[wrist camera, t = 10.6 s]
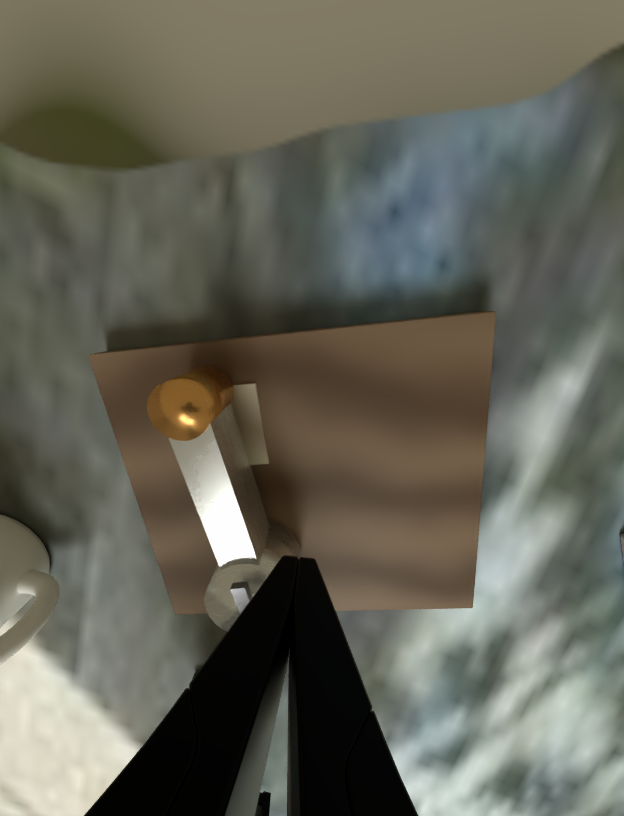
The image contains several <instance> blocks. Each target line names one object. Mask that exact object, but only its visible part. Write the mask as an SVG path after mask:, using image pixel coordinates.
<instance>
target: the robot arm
mask: <svg viewBox="0 0 624 816" xmlns="http://www.w3.org/2000/svg"><path fill="white" fill-rule="evenodd" d="M289 650H290V654H289ZM288 658H289V685H288V773H287V816H418V814H417V812H416V810H415V807H414V805H413V803H412V801H411V799H410V797H409V794H408V792H407V790H406V788H405V786H404V783H403V781H402V779H401V777H400V774H399V772H398V770H397V767H396V765H395V762H394V760H393V757H392V755H391V753H390V750H389V748H388V745H387V743H386V740H385V738H384V735H383V733H382V730H381V728H380V725H379V722H378V720H377V717H376V715H375V712H374V711H372V705H371V702H370V699H369V697H368V694H367V692H366V689H365V686H364V684H363V681H362V679H361V676H360V673H359V671H358V668H357V666H356V663H355V660H354V658H353V655H352V653H351V650H350V647H349V645H348V642H347V639H346V637H345V634H344V632H343V629H342V626H341V624H340V621H339V619H338V616H337V613H336V611H335V608H334V606H333V603H332V600H331V598H330V595H329V593H328V590H327V587H326V585H325V582H324V580H323V577H322V574H321V572H320V569H319V566H318V564H317V561H316V560H315V559H314V558H307V557H300V559H299V558H298V557H297V556H289V555H284V556H282V557H281V559H280V560H279V561H278V563H277V564H276V565H275V567H274V568H273V570H272V571H271V572H270V574H269V575H268V576H267V578H266V579H265V581H264V582H263V583H262V585H261V586H260V587H259V589H258V590H257V592H256V593H255V594H254V596H253V597H252V598H251V600H250V601H249V603H248V604H247V605H246V607H245V608H244V609H243V611H242V612H241V614H240V615H239V616H238V618H237V619H236V620H235V622H234V623H233V625H232V626H231V627H230V629H229V630H228V632H227V633H226V634H225V636H224V637H223V638H222V640H221V641H220V643H219V644H218V645H217V647H216V648H215V649H214V651H213V652H212V654H211V655H210V656H209V658H208V659H207V660H206V662H205V663H204V665H203V666H202V667H201V669H200V670H199V671H198V672H196V673H195V674H194V676H193V679H192V681H191V682H190V684H189V688H186V689H185V690H184V692H183V693H182V695H181V696H180V697H179V699H178V700H177V701H176V703H175V704H174V706H173V707H172V708H171V710H170V711H169V712H168V714H167V715H166V716H165V718H164V719H163V720H162V722H161V723H160V724H159V725H158V727H157V728H156V729H155V731H154V732H153V733H152V735H151V736H150V737H149V739H148V740H147V741H146V743H145V744H144V745H143V746H142V747H141V749H140V750H139V751H138V752H137V753H136V755H135V756H134V757H133V758H132V760H131V761H130V762H129V763H128V764H127V766H126V767H125V768H124V769H123V770H122V772H121V773H120V774H119V775H118V776H117V778H116V779H115V780H114V781H113V782H112V784H111V785H110V786H109V787H108V788H107V789H106V791H105V792H104V793H103V794H102V795H101V796H100V798H99V799H98V800H97V801H96V802H95V803H94V805H93V806H92V807H91V808H90V809H89V810H88V812H87V813H86V814H85V815H84V816H269V808H270V796H271V793H269V792H265V791H264V792H263V793H261V792H260V789H261V785H262V780H263V775H264V771H265V766H266V761H267V757H268V752H269V748H270V743H271V738H272V734H273V729H274V724H275V720H276V715H277V711H278V706H279V701H280V697H281V692H282V687H283V683H284V678H285V674H286V669H287V663H288Z"/></svg>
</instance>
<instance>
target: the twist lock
mask: <svg viewBox="0 0 624 816" xmlns="http://www.w3.org/2000/svg"><path fill="white" fill-rule="evenodd" d="M233 398H234V388H233V385H232V382H231V380H230V379H229V377H228V376H227V375H226V374H225V373H224V372H223V371H221V370H220V369H218V368H216V367H213V366H200V367H197V368H195V369H192V370H190V371H188V372H186V373H184V374H182V375H179V376H177V377H175V378H173V379H171V380H168V381H166V382H164V383H162V384H160V385H158V386H157V387H155V388H154V389H153V391H152V392H151V393H150V395H149V398H148V402H147V411H148V415H149V418H150V420H151V422H152V424H153V425H154V426H155V428H156V429H157V430H158V431H159V432H161V433H162V434H163V435H165V436H166V437H168V438H169V440H170V443H171V446H172V448H173V451H174V453H175V456H176V458H177V461H178V463H179V466H180V468H181V471H182V473H183V476H184V478H185V481H186V483H187V486H188V489H189V491H190V494H191V496H192V499H193V501H194V504H195V506H196V509H197V511H198V514H199V516H200V519H201V521H202V524H203V526H204V529H205V532H206V534H207V537H208V539H209V542H210V544H211V547H212V549H213V552H214V554H215V557H216V559H217V562H218V565H217V567H216V569H215V572H214V574H213V576H212V579H211V581H210V583H209V585H208V588H207V590H206V593H205V597H204V604H205V609H206V611H207V613H208V615H209V617H210V618H211V620H212V621H213V622H214V623H215V624H216V625H217V626H219V627H220V628H221V629H223V630H224V631H226V632H228V630H229V629H230V627H231V626H232V625H233V623H234V622H235V620H236V619H237V618H238V616H239V615H240V614H241V612H242V611H243V609H244V608H245V607H246V605H247V604H248V603H249V601H250V600H251V598H252V597H253V596H254V594H255V593H256V592H257V590H258V589H259V587H260V586H261V585H262V583H263V582H264V581H265V579H266V578H267V576H268V575H269V574H270V572H271V571H272V570H273V568H274V567H275V565H276V564H277V563H278V561H279V560H280V559H281V557H282V556H284V555H289V556H297V557H298V558H299V559H300V557H301V549H300V545H299V542H298V541H297V539H296V537H295V536H294V535H293V534H292V533H291V532H290V531H289V530H288V529H286V528H285V527H283V526H281V525H279V524H277V523H274V522H270V521H268V520H267V517H266V514H265V510H264V507H263V504H262V501H261V498H260V494H259V491H258V488H257V485H256V482H255V479H254V475H253V472H252V469H251V466H250V463H249V460H248V456H247V453H246V450H245V447H244V444H243V441H242V437H241V434H240V431H239V428H238V425H237V421H236V418H235V415H234V412H233V409H232V406H231V403H232V401H233Z"/></svg>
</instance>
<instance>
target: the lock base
mask: <svg viewBox="0 0 624 816" xmlns="http://www.w3.org/2000/svg"><path fill="white" fill-rule="evenodd" d="M495 319H496V312H492V311H479V312H469V313H460V314H451V315H441V316H432V317H422V318H413V319H404V320H394V321H385V322H376V323H366V324H357V325H347V326H338V327H329V328H319V329H310V330H301V331H291V332H282V333H272V334H263V335H254V336H244V337H235V338H226V339H216V340H207V341H198V342H188V343H179V344H169V345H160V346H151V347H141V348H132V349H123V350H113V351H105V352H100V353H95V354H90V355H88V357H89V360H90V363H91V366H92V369H93V372H94V375H95V378H96V381H97V384H98V387H99V390H100V393H101V396H102V399H103V401H104V404H105V407H106V410H107V413H108V416H109V419H110V422H111V425H112V428H113V431H114V434H115V437H116V440H117V443H118V446H119V449H120V452H121V455H122V458H123V461H124V464H125V467H126V470H127V473H128V476H129V479H130V482H131V484H132V487H133V490H134V493H135V496H136V499H137V502H138V505H139V508H140V511H141V514H142V517H143V520H144V523H145V526H146V529H147V532H148V535H149V538H150V541H151V544H152V547H153V550H154V553H155V556H156V559H157V562H158V565H159V567H160V570H161V573H162V576H163V579H164V582H165V585H166V588H167V591H168V594H169V597H170V600H171V603H172V606H173V609H174V612H175V615H176V614H208V613H207V611H206V609H205V604H204V597H205V593H206V590H207V588H208V585H209V583H210V581H211V579H212V576H213V574H214V572H215V569H216V567H217V565H218V562H217V559H216V557H215V554H214V552H213V549H212V547H211V544H210V542H209V539H208V537H207V534H206V532H205V529H204V526H203V524H202V521H201V519H200V516H199V514H198V511H197V509H196V506H195V504H194V501H193V499H192V496H191V494H190V491H189V489H188V486H187V483H186V481H185V478H184V476H183V473H182V471H181V468H180V466H179V463H178V461H177V458H176V456H175V453H174V451H173V448H172V446H171V443H170V440H169V438H168V437H166V436H165V435H163V434H162V433H161V432H159V431H158V430H157V429H156V428H155V426H154V425H153V424H152V422H151V420H150V418H149V415H148V411H147V402H148V398H149V395H150V393H151V392H152V391H153V389H154V388H155V387H157V386H158V385H160V384H162V383H164V382H166V381H168V380H171V379H173V378H175V377H177V376H179V375H182V374H184V373H186V372H188V371H190V370H192V369H195V368H197V367H200V366H213V367H216V368H218V369H220V370H221V371H223V372H224V373H225V374H226V375H227V376H228V377H229V379H230V380H231V382H232V385H233V388H234V398H233V401H232V403H231V406H232V409H233V412H234V415H235V418H236V421H237V425H238V428H239V431H240V434H241V437H242V441H243V444H244V447H245V450H246V453H247V456H248V460H249V463H250V466H251V469H252V472H253V475H254V479H255V482H256V485H257V488H258V491H259V494H260V498H261V501H262V504H263V507H264V510H265V514H266V517H267V520H268V521H270V522H274V523H277V524H279V525H281V526H283V527H285V528H286V529H288V530H289V531H290V532H291V533H292V534H293V535H294V536H295V537H296V539H297V541H298V542H299V545H300V549H301V557H307V558H314V559H315V560H316V561H317V564H318V566H319V569H320V572H321V574H322V577H323V580H324V582H325V585H326V587H327V590H328V593H329V595H330V598H331V600H332V603H333V606H334V608H335V611H356V610H401V609H446V608H473V598H474V585H475V573H476V560H477V547H478V535H479V522H480V509H481V497H482V484H483V471H484V459H485V446H486V433H487V421H488V408H489V395H490V383H491V370H492V357H493V344H494V332H495Z"/></svg>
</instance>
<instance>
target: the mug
mask: <svg viewBox="0 0 624 816" xmlns="http://www.w3.org/2000/svg"><path fill="white" fill-rule="evenodd" d="M49 570H50V561H49V555H48V552H47V550H46V548H45V546H44V544H43V543H42V541H41V540H40V539H39V538H38V536H37V535H36V534H35V533H34V532H32V531H31V530H30V529H29V528H28V527H26V526H25V525H23V524H22V523H20V522H18V521H17V520H15V519H12V518H10V517H7V516H5V515H1V514H0V628H1V627H2V626H3V625H4V624H5V623H6V622H7V621H8V620H9V619H10V618H11V617H12V616H13V615H14V614H15V613H16V612H17V611H18V610H19V609H20V608H21V607H22V606H23V605H24V604H25V603H26V602H27V601H28V600H29V599H30V598H31V597H32V596H33V595H34V596H35V601H34V604H33V605H32V607H31V608H30V609H29V611H28V612H27V613H26V614H25V615H24V616H23V617H22V619H21V620H19V621H18V622H17V623H16V624H15V625H14V626H13V627H12V628H11V629H9V630H8V631H7V632H6V633H4V634H3V635H2V636H0V664H2V663H3V662H5V661H6V660H7V659H9V658H10V657H11V656H13V655H14V654H15V653H16V652H18V651H19V650H20V649H21V648H22V647H23V646H24V645H25V644H27V643H28V642H29V641H30V640H31V639H32V638H33V637H34V636H35V635H36V634H37V632H38V631H39V630H40V629H41V628H42V627H43V625H44V624H45V623H46V622H47V620H48V619H49V617H50V616H51V614H52V613H53V611H54V609H55V607H56V605H57V603H58V600H59V596H60V586H59V584H58V582H57V580H56V579H55V578H54V577H53V576H51V575H49Z"/></svg>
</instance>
